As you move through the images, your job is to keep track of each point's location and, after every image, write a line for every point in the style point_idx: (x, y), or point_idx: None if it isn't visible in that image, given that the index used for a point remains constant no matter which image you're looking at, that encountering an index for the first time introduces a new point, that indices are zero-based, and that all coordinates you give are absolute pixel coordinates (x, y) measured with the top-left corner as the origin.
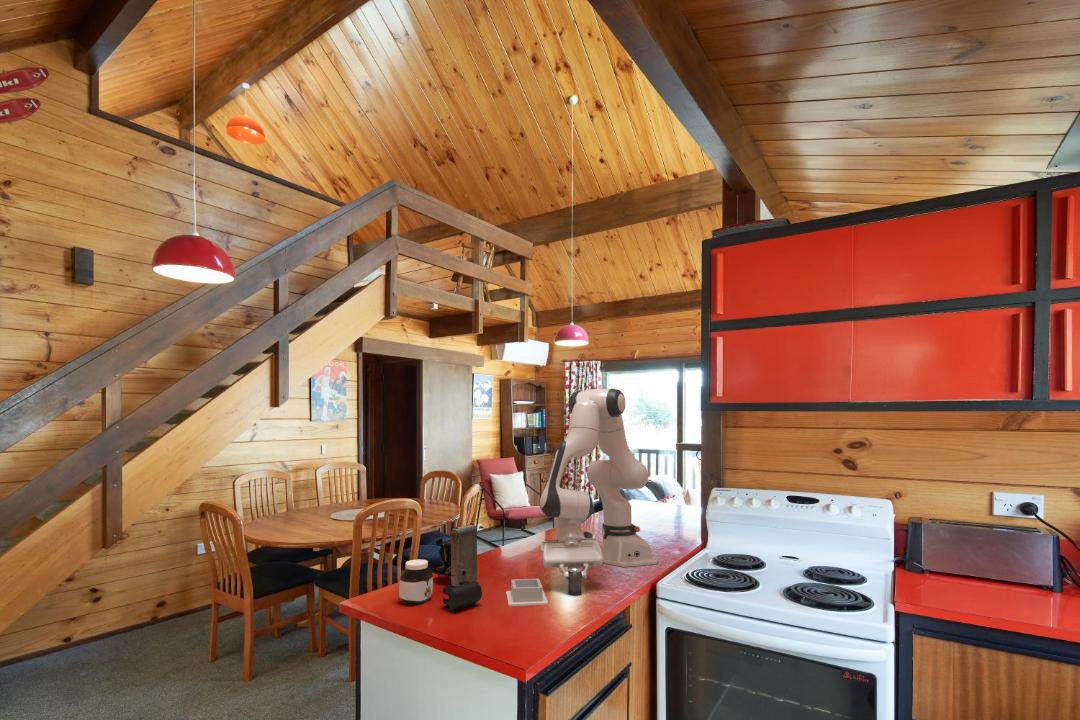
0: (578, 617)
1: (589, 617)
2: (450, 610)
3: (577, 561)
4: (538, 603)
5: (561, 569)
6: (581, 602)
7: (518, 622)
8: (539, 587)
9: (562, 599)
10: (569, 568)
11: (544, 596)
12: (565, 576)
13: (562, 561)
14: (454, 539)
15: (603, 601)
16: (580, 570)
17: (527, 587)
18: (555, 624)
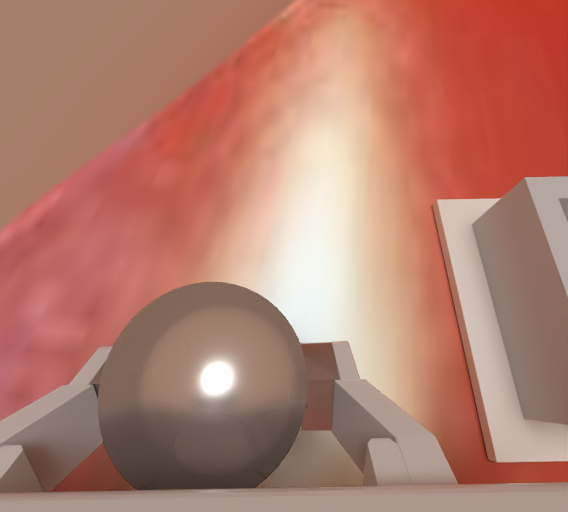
0: (294, 67)
1: (249, 64)
2: None
3: (92, 492)
4: (490, 200)
5: (397, 413)
6: (241, 222)
7: (541, 45)
8: (549, 180)
9: (345, 278)
10: (287, 359)
11: (468, 301)
12: (335, 342)
13: (422, 496)
14: None
15: (113, 225)
16: (149, 312)
17: None
18: (392, 24)
